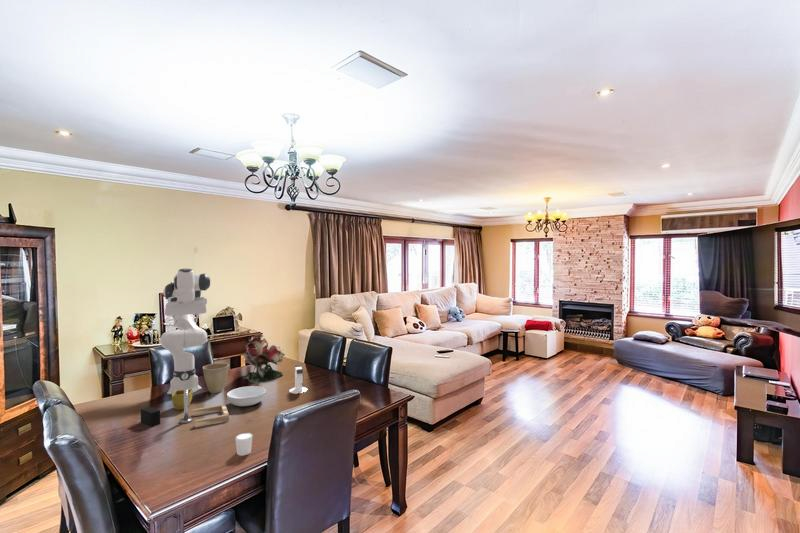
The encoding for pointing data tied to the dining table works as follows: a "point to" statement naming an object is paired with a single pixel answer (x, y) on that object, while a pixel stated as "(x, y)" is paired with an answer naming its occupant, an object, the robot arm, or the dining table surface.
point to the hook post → (186, 410)
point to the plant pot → (215, 376)
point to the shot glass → (243, 443)
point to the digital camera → (150, 416)
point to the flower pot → (181, 398)
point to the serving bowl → (246, 395)
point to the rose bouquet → (262, 359)
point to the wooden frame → (211, 419)
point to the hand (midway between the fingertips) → (186, 322)
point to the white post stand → (298, 381)
